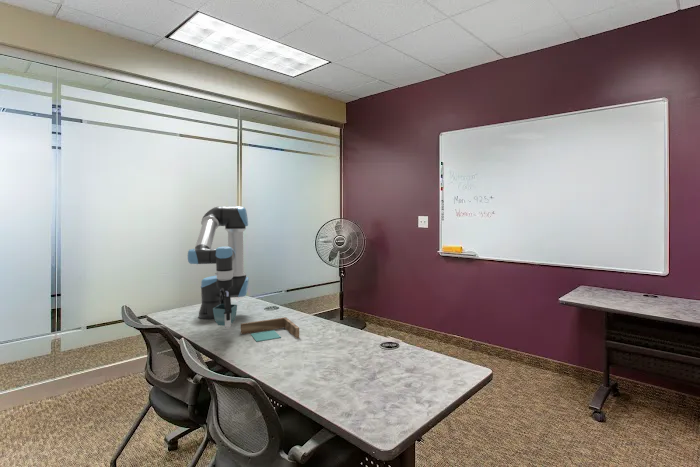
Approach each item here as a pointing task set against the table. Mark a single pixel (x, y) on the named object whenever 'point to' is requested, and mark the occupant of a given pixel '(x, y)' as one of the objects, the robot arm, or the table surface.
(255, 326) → the corner arena
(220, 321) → the flower pot
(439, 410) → the table surface
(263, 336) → the pad
